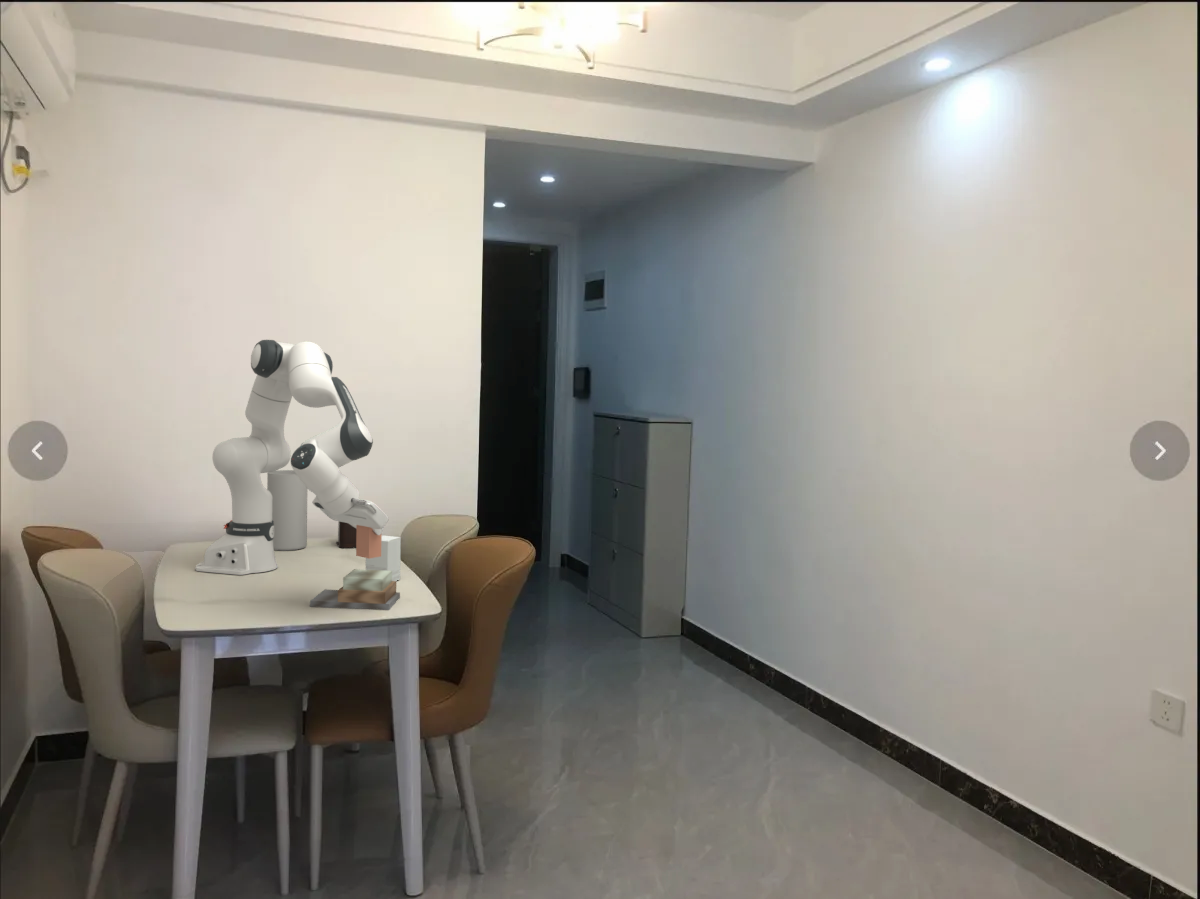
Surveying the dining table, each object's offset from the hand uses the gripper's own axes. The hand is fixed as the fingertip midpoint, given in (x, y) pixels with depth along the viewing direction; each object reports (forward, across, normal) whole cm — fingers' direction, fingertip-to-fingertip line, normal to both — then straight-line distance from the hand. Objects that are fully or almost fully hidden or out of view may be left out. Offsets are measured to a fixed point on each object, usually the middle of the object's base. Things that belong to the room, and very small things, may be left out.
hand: (371, 531), depth 234 cm
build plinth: (+11, +3, +15) cm, 19 cm away
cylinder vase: (+32, +74, -5) cm, 81 cm away
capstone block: (+4, 0, +5) cm, 6 cm away
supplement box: (+26, +16, +1) cm, 30 cm away
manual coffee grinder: (+44, +61, -17) cm, 77 cm away
